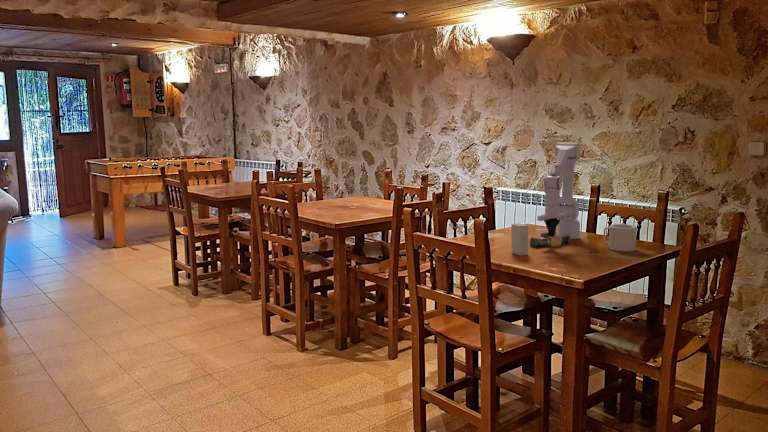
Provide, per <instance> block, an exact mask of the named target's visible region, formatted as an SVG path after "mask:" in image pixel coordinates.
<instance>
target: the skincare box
mask: <svg viewBox="0 0 768 432" xmlns="http://www.w3.org/2000/svg"><path fill="white" fill-rule="evenodd" d="M511 253H512V254H515V255H517V256H528V255H529V225H528V224H527V225H526V224H523V223H511Z"/></svg>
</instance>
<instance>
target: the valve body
mask: <svg viewBox="0 0 768 432" xmlns="http://www.w3.org/2000/svg"><path fill="white" fill-rule="evenodd" d="M547 239H548V245H547V246H546V247H560V246H561V245H563V244H562V237H561V235H558V233H556V234H555V235H554V237H551V236H549V237H547Z"/></svg>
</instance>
